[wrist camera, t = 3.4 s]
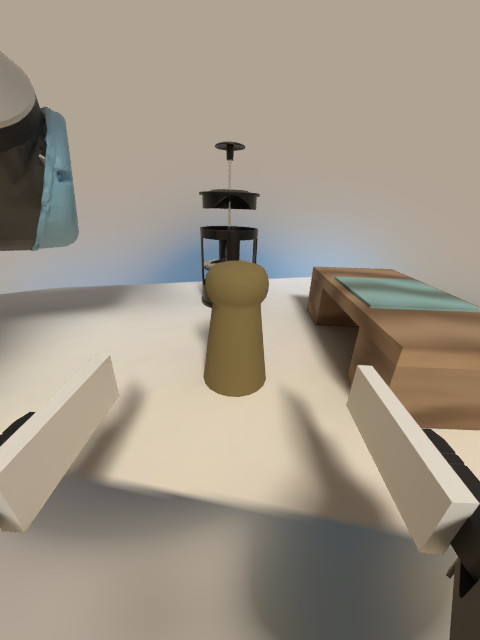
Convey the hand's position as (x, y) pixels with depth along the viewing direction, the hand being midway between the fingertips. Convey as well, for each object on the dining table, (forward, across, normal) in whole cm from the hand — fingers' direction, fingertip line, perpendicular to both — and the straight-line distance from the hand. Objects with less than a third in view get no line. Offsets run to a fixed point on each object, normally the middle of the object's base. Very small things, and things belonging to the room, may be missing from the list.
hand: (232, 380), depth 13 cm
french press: (+31, -2, -7) cm, 32 cm away
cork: (+9, 0, -7) cm, 11 cm away
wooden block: (+15, +17, -6) cm, 24 cm away
